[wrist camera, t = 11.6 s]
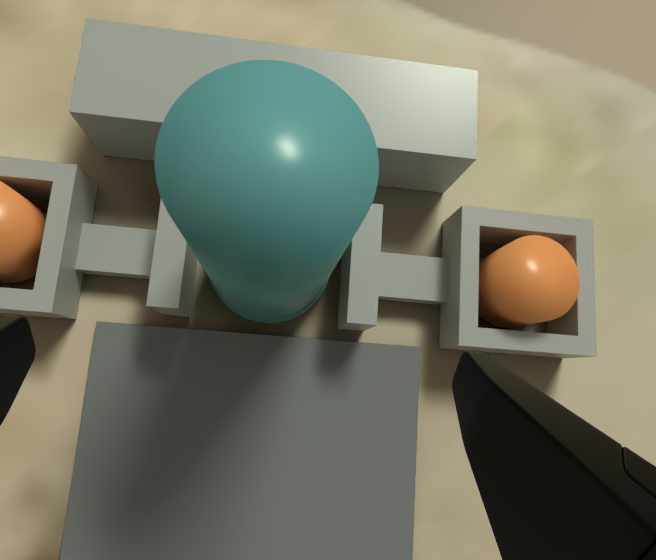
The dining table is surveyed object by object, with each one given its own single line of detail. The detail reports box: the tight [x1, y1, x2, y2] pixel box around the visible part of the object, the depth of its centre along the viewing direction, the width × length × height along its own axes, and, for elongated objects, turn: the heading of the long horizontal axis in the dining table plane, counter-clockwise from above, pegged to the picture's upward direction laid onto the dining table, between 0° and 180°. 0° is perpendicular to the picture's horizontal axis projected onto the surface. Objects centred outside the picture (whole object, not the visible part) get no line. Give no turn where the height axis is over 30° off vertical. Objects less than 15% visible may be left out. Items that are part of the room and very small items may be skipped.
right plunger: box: [478, 235, 580, 328], centre depth 22 cm, size 4×4×3 cm
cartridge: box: [154, 60, 379, 324], centre depth 17 cm, size 5×5×12 cm
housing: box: [0, 18, 597, 358], centre depth 22 cm, size 12×28×4 cm, turn 86°
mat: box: [60, 321, 420, 560], centre depth 21 cm, size 12×14×1 cm
